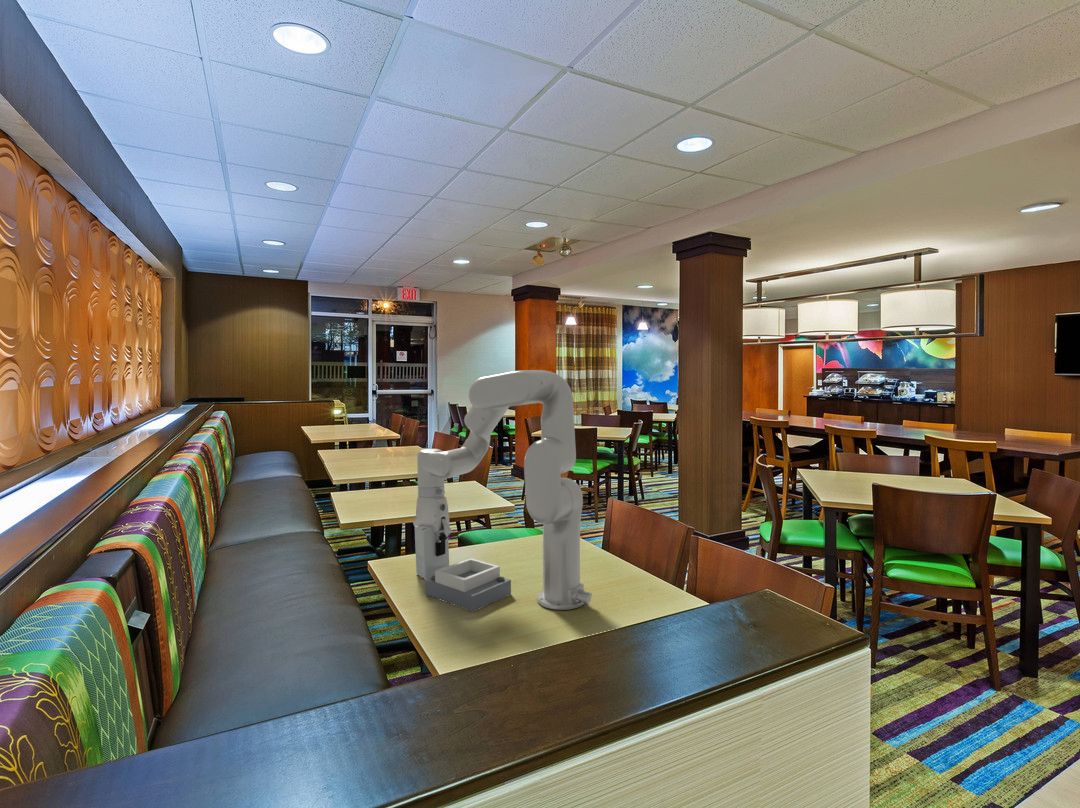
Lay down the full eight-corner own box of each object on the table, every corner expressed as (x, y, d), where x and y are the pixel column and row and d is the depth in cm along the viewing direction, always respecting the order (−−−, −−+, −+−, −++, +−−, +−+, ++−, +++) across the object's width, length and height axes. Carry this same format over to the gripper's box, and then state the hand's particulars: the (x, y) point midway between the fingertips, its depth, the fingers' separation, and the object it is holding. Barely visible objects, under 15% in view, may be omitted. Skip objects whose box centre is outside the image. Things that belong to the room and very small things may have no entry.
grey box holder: (511, 594, 149) (510, 568, 149) (473, 612, 138) (472, 584, 138) (463, 579, 161) (463, 555, 160) (425, 594, 150) (424, 568, 149)
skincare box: (440, 568, 169) (439, 519, 169) (450, 573, 165) (449, 523, 164) (414, 575, 164) (413, 524, 163) (424, 580, 159) (423, 529, 159)
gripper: (461, 493, 161) (462, 555, 162) (422, 486, 172) (423, 544, 172) (441, 498, 155) (442, 562, 156) (401, 490, 166) (403, 550, 167)
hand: (432, 552), depth 164 cm, fingers closed on skincare box, 6 cm apart
